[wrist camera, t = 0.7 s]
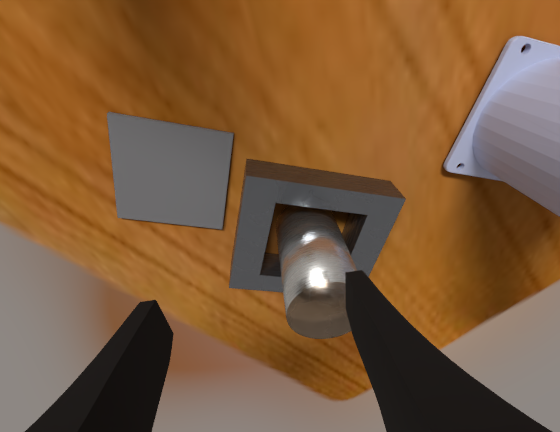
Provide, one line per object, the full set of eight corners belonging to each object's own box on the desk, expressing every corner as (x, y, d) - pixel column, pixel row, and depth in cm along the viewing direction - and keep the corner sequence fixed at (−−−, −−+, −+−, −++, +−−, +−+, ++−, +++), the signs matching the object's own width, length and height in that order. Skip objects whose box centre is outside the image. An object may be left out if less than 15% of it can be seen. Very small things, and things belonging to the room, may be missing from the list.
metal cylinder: (342, 203, 22) (383, 286, 15) (325, 251, 24) (354, 340, 17) (282, 195, 21) (297, 278, 14) (270, 245, 23) (278, 336, 16)
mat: (233, 132, 18) (233, 134, 18) (222, 227, 22) (222, 229, 22) (108, 111, 17) (106, 113, 17) (119, 215, 21) (117, 217, 20)
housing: (390, 181, 21) (405, 198, 19) (349, 275, 25) (358, 298, 23) (246, 158, 19) (246, 175, 17) (230, 264, 24) (228, 287, 22)
